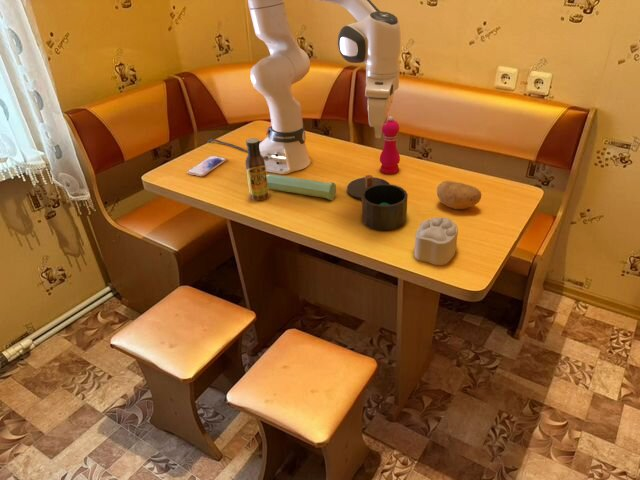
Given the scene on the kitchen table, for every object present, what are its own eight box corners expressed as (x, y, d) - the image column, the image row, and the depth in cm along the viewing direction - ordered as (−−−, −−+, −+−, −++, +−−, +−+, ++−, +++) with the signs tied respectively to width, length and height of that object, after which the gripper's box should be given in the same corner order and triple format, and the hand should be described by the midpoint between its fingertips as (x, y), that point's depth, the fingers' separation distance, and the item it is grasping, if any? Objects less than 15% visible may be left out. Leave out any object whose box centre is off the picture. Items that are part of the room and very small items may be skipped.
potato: (475, 218, 152) (479, 195, 147) (431, 209, 157) (433, 187, 152) (482, 203, 159) (486, 181, 154) (440, 195, 164) (442, 173, 159)
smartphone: (226, 158, 187) (202, 175, 176) (227, 160, 188) (202, 177, 177) (211, 154, 189) (186, 171, 179) (211, 157, 190) (186, 173, 179)
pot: (358, 229, 149) (357, 204, 144) (366, 205, 160) (366, 182, 154) (403, 233, 147) (404, 208, 142) (408, 209, 157) (409, 185, 152)
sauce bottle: (253, 203, 162) (243, 146, 150) (248, 194, 167) (238, 138, 154) (272, 198, 164) (264, 142, 152) (266, 190, 169) (258, 134, 156)
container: (261, 172, 166) (329, 183, 158) (270, 171, 171) (336, 181, 164) (260, 190, 168) (328, 201, 160) (269, 188, 173) (335, 199, 165)
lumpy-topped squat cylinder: (410, 257, 137) (411, 231, 132) (427, 234, 146) (430, 208, 141) (445, 267, 133) (448, 241, 128) (461, 243, 142) (465, 217, 137)
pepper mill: (400, 174, 176) (401, 120, 164) (379, 175, 176) (380, 120, 164) (399, 165, 182) (401, 112, 170) (379, 165, 182) (379, 112, 170)
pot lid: (343, 199, 163) (342, 185, 160) (351, 178, 174) (351, 165, 171) (387, 203, 161) (387, 188, 158) (393, 181, 172) (394, 168, 169)
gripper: (377, 68, 140) (376, 116, 149) (363, 92, 125) (363, 144, 133) (399, 69, 139) (397, 117, 148) (388, 94, 124) (386, 146, 132)
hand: (381, 130), depth 141 cm, fingers open, 8 cm apart
